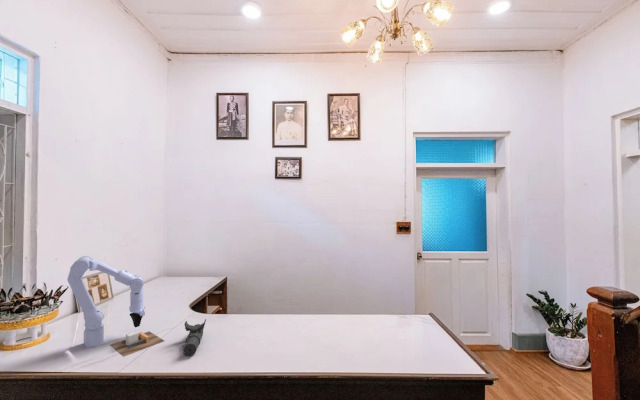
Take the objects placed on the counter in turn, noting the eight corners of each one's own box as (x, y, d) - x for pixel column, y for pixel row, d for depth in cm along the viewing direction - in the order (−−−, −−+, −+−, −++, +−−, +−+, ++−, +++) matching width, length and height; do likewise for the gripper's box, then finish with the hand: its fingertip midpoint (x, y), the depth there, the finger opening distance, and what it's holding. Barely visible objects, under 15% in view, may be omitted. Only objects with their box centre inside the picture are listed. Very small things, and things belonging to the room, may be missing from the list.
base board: (109, 346, 138) (109, 341, 138) (149, 333, 153) (149, 328, 153) (123, 358, 128) (123, 353, 128) (164, 342, 142) (164, 337, 142)
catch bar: (138, 337, 146) (138, 332, 146) (141, 336, 147) (141, 331, 147) (146, 342, 140) (146, 337, 140) (148, 341, 141) (148, 336, 141)
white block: (125, 344, 139) (125, 334, 139) (135, 341, 142) (135, 331, 142) (129, 346, 136) (129, 336, 136) (138, 343, 140) (138, 333, 140)
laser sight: (178, 358, 128) (178, 336, 128) (188, 335, 150) (188, 316, 150) (201, 355, 131) (201, 333, 131) (207, 333, 153) (207, 314, 153)
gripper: (151, 301, 147) (151, 327, 147) (139, 295, 156) (139, 320, 156) (136, 305, 142) (136, 332, 142) (124, 299, 151) (124, 324, 150)
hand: (136, 326), depth 149 cm, fingers closed
